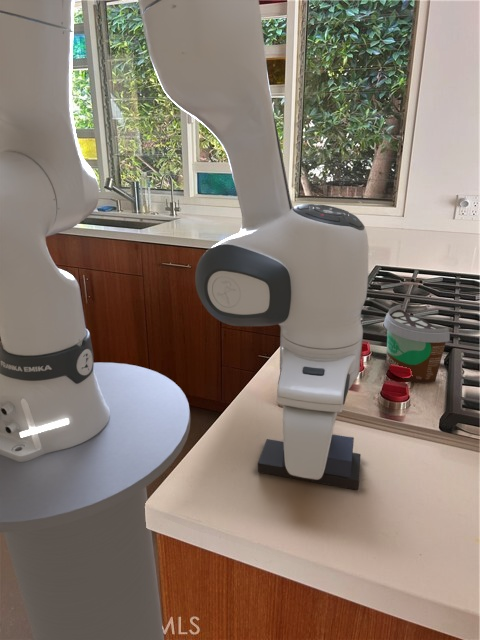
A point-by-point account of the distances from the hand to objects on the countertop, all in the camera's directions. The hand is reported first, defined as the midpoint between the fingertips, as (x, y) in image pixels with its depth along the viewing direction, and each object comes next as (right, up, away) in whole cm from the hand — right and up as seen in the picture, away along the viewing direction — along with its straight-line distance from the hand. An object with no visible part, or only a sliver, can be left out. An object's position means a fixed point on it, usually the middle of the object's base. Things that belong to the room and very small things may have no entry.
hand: (313, 456), depth 57 cm
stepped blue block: (0, -2, +1) cm, 2 cm away
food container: (+19, +8, +23) cm, 30 cm away
